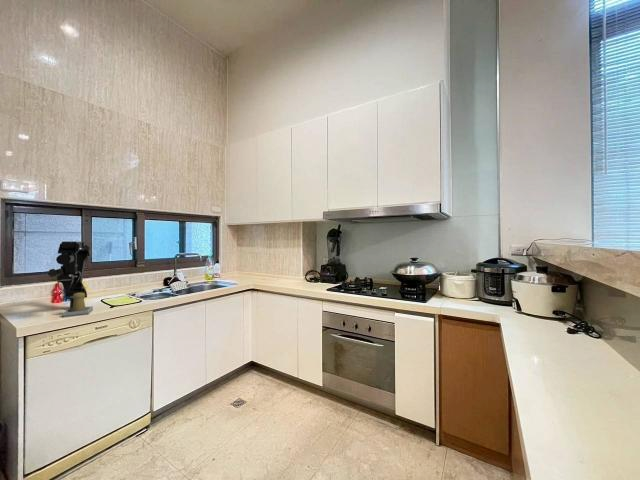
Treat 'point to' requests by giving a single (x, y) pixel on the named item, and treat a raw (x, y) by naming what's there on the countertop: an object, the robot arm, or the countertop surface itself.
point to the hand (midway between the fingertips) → (69, 290)
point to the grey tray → (77, 312)
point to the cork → (78, 302)
